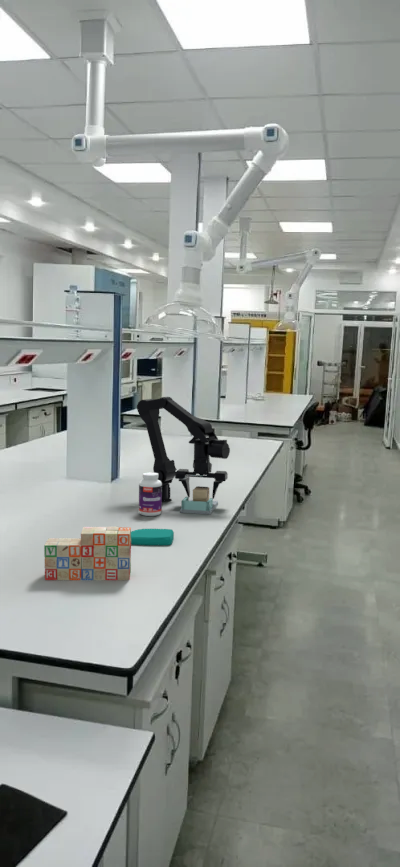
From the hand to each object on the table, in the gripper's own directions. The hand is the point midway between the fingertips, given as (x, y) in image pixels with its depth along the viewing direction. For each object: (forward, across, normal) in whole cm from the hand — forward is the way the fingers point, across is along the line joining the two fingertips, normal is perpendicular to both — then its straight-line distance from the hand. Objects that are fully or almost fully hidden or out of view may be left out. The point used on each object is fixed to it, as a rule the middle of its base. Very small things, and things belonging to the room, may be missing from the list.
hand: (201, 497), depth 240 cm
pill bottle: (+4, +15, +15) cm, 22 cm away
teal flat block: (+4, +11, +46) cm, 48 cm away
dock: (+3, 0, +3) cm, 4 cm away
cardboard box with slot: (+2, 0, 0) cm, 2 cm away
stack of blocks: (+4, +12, +79) cm, 80 cm away
